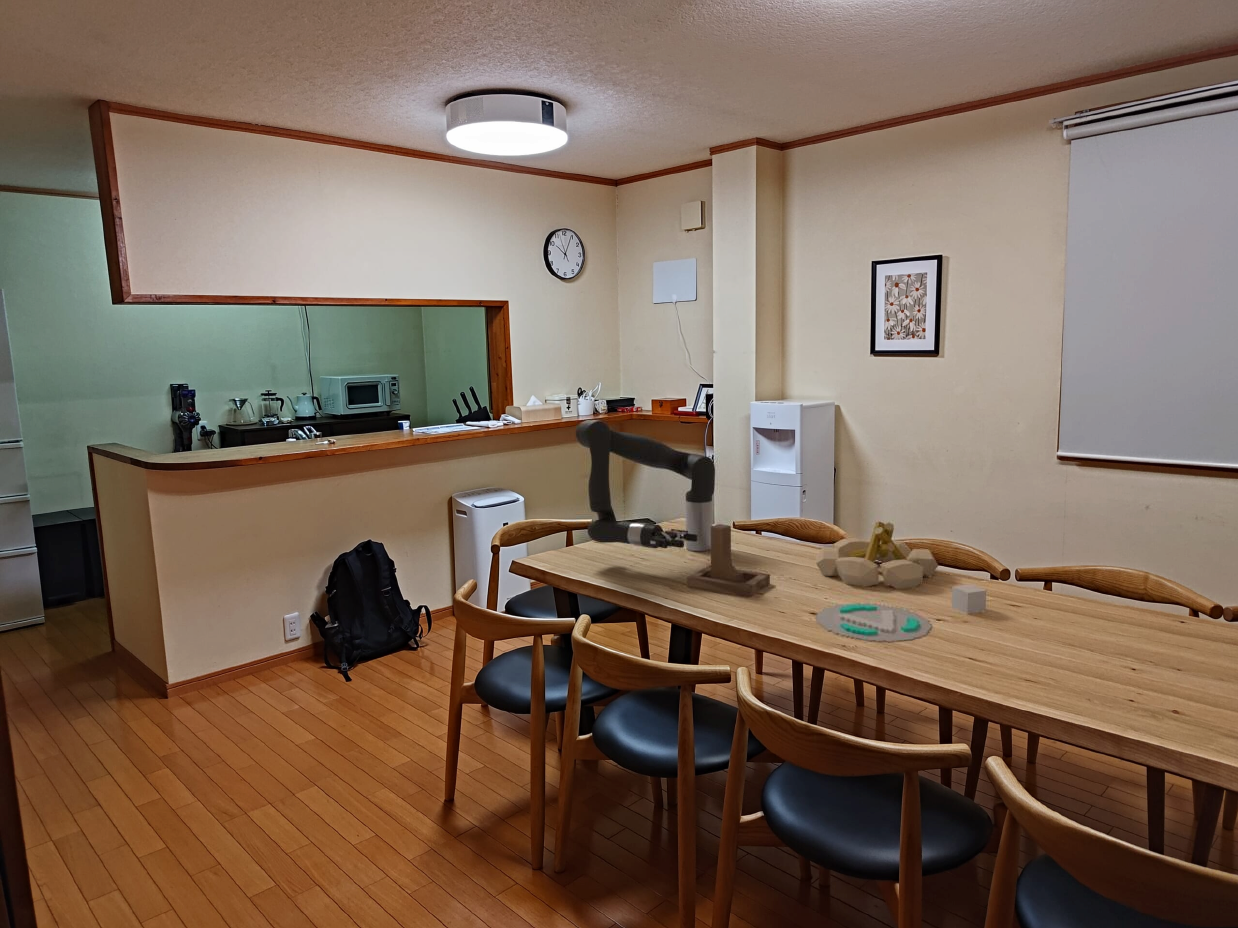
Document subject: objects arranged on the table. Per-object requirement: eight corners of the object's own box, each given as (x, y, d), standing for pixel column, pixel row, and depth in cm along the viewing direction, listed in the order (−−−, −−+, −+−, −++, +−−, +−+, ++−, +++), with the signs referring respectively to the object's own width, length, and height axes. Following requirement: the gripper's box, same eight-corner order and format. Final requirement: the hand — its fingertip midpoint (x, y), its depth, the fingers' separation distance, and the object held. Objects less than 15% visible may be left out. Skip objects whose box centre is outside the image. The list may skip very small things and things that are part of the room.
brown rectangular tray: (710, 574, 257) (710, 565, 256) (769, 583, 246) (769, 573, 245) (687, 586, 244) (687, 577, 244) (748, 597, 233) (748, 587, 233)
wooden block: (743, 586, 243) (743, 527, 240) (734, 590, 240) (734, 530, 237) (719, 581, 249) (719, 523, 246) (710, 584, 246) (710, 526, 243)
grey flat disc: (847, 648, 195) (847, 641, 195) (800, 610, 223) (800, 605, 222) (953, 638, 201) (953, 631, 200) (894, 602, 228) (894, 597, 228)
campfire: (912, 598, 230) (914, 539, 228) (800, 579, 251) (801, 524, 248) (948, 569, 258) (950, 516, 255) (844, 553, 278) (845, 504, 275)
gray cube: (969, 605, 223) (970, 584, 222) (985, 612, 217) (986, 590, 216) (951, 607, 221) (952, 586, 220) (967, 614, 215) (968, 592, 215)
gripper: (633, 528, 253) (678, 534, 244) (656, 519, 264) (701, 524, 255) (633, 551, 254) (679, 558, 245) (656, 541, 265) (701, 547, 257)
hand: (690, 541), depth 250 cm, fingers open, 8 cm apart
